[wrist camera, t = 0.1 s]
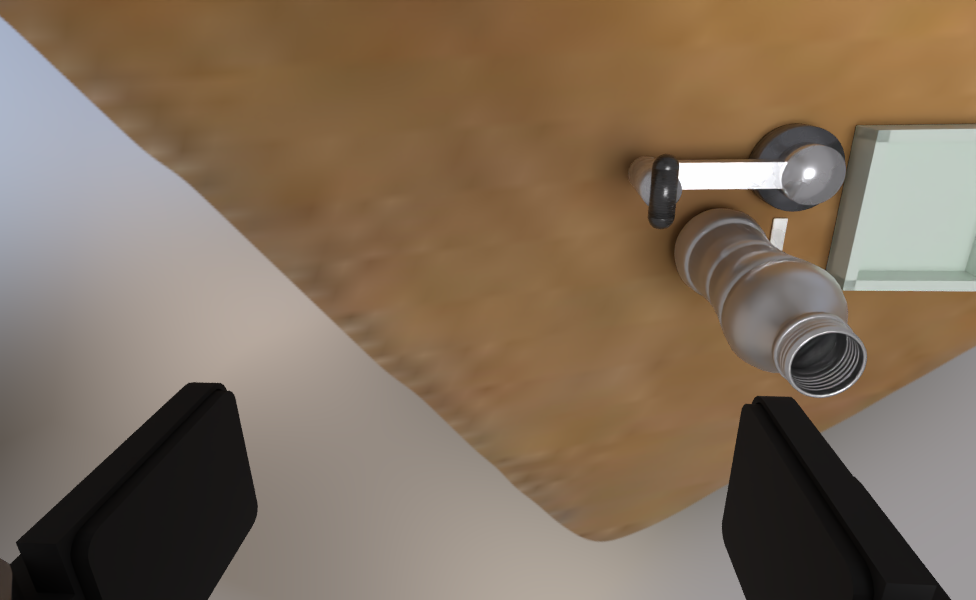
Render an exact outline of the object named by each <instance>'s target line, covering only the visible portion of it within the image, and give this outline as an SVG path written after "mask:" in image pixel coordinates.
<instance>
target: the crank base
mask: <svg viewBox="0 0 976 600" xmlns="http://www.w3.org/2000/svg"><path fill="white" fill-rule="evenodd" d="M801 142H814V143H817V144H821V145H824V146H827V147H830V148H833V149H835V150H836V151H838V152H839V153H840V154H841V156H842V157H843V159H844V161H845V155H844V151H843V148H842V146H841V143H840V142H839V141H838V139H837V138H836V137H835V136H834V135H833V134H831V133H830V132H828V131H826V130H824V129H822V128H818V127H814V126H810V125H806V124H788V125H784V126H781V127H778V128H776V129H774V130H772V131H771V132H769V133H768V134H767V135H765V136H764V137H763V138H762V139H761V140H760V141H759V142H758V143H757V145H756V146H755V148H754V149H753V151H752V153H751V155H750V158H749V159H778V158H779V156H780V155H781V154H782V153H783V152H784V151H785V150H786V149H788V148H789V147H791V146H793V145H795V144H798V143H801ZM752 190H753V191H754V193H755V194H756V195H757V196H758V197H759V198H761V199H762V200H764V201H765V202H767V203H768V204H770V205H772V206H773V207H775V208H777V209H780V210H784V211H801V210H806V209H809V208H812V207H814V206H816V205H818V204H815V205H803V204H799V203H797V202H795V201H793V200H791V199H789V198H787V197H786V196H784V195H782V194H781V193H780V192H779V191H778V190H777V189H752ZM787 220H788V218H773V223H772V229H771V235H770V242H771V243H772V244H773V245H774V246H775V247H776V248H778V249H779V250H781V251H782V248H783V243H784V237H785V231H786V226H787Z"/></svg>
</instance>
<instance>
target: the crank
mask: <svg viewBox="0 0 976 600" xmlns="http://www.w3.org/2000/svg"><path fill="white" fill-rule="evenodd" d="M845 175H846V165H845V161H844V159H843V157H842V156H841V154H840V153H839V152H838V151H836V150H835V149H833V148H830V147H827V146H824V145H821V144H817V143H814V142H801V143H798V144H795V145H793V146H791V147H789V148H788V149H786V150H785V151H784V152H783V153H782V154H781V155H780V156H779V158H778V159H719V160H677V158H676V157H674V156H673V155H670V154H663V155H661V156H659V157H657V158H656V159H655V158H653V157H650V156H642V157H639V158H637V159H636V160H634V161H633V162H632V164H631V165H630V167H629V170H628V179H629V181H630V183H631V184H632V186H633V187H634V188H635V190H636V191H637V192H638V194H639V195H640V196H641V197H642V199H643V200H644V201H645V203H646V204H647V205H648V206H649V209H648V220H649V223H650V224H651V225H652V226H653V227H654V228H656V229H665V228H667V227H669V226H670V225H671V224H672V223H673V221H674V217H675V208H676V203H677V201H678V200H679V198H680V196H681V193H682V189H777V190H778V191H779V192H780V193H781V194H782V195H784V196H786V197H787V198H789V199H791V200H793V201H795V202H797V203H799V204H803V205H815V204H819V203H822V202H824V201H826V200H828V199H830V198H831V197H832V196H833V195H835V194H836V192H837V191H838V190H839V189H840V187H841V186H842V184H843V182H844V179H845Z"/></svg>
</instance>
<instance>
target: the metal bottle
mask: <svg viewBox="0 0 976 600" xmlns="http://www.w3.org/2000/svg"><path fill="white" fill-rule="evenodd" d="M674 257H675V263H676V267H677V271H678V273H679V275H680V277H681V279H682V280H683V281H684V282H685V284H686V285H688V286H689V287H690V288H691V289H693V290H694V291H695V292H697V293H698V294H700V295H702V296H704V297H705V298H706V299H707V300H708V301H709V302H710V303H711V305H712V307H713V308H714V310H715V312H716V313H717V316H718V318H719V321H720V324H721V327H722V330H723V333H724V335H725V337H726V339H727V341H728V343H729V345H730V347H731V349H732V350H733V351H734V353H735V354H736V355H737V356H738V357H739V358H741V359H742V360H743V361H745V362H746V363H748V364H750V365H752V366H754V367H756V368H759V369H761V370H763V371H768V372H772V373H780V374H781V375H782V376H783V377H784V378H785V379H787V380H788V381H789V383H790V384H791V385H792V386H793V388H795V389H796V390H797V391H799V392H800V393H802V394H804V395H806V396H810V397H816V398H823V397H830V396H833V395H837V394H839V393H841V392H843V391H845V390H846V389H848V388H850V387H851V386H852V385H853V384H854V383H855V382H856V381H857V380H858V379H859V378H860V376H861V375H862V373H863V371H864V369H865V366H866V361H867V353H866V349H865V347H864V344H863V343H862V341H861V340H860V339H859V337H858V336H857V335H856V334H855V333H853V331H852V329H851V328H850V327H849V325H848V324H847V320H848V308H847V302H846V299H845V297H844V295H843V292H842V290H841V288H840V285H839V284H838V282H837V281H836V280H835V279H834V277H833V276H832V275H830V274H829V273H828V272H827V271H826V270H824V269H822V268H820V267H818V266H816V265H814V264H812V263H810V262H808V261H805V260H802V259H799V258H797V257H794V256H791V255H788V254H786V253H785V252H783V251H781V250H779V249H778V248H776V247H775V246H774V245H773V244H772V243H771V242H770V241H769V240H768V239H767V237H766V235H765V233H764V231H763V230H762V229H761V227H760V226H759V225H758V223H757V222H756V221H755V220H754V219H753V218H752V217H750V216H749V215H747V214H745V213H743V212H741V211H736V210H732V209H727V208H716V209H710V210H707V211H704V212H702V213H700V214H698V215H697V216H695V217H693V218H692V219H691V220H690V221H689V222H688V223H687V224H686V225H685V226H684V227H683V228H682V230H681V232H680V233H679V235H678V237H677V240H676V243H675V249H674Z"/></svg>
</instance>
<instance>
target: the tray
mask: <svg viewBox="0 0 976 600" xmlns="http://www.w3.org/2000/svg"><path fill="white" fill-rule="evenodd" d="M826 271H827V272H828V273H829V274H830V275H832V276H833V277H834V279H835V280H836V281H837V282H838V284H839V285H840V288H841V289H842V290H854V291H976V124H921V125H856V129H855V134H854V138H853V143H852V148H851V153H850V157H849V162H848V167H847V172H846V177H845V181H844V186H843V191H842V196H841V200H840V205H839V210H838V215H837V219H836V224H835V229H834V234H833V238H832V243H831V248H830V253H829V258H828V262H827V267H826Z"/></svg>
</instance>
